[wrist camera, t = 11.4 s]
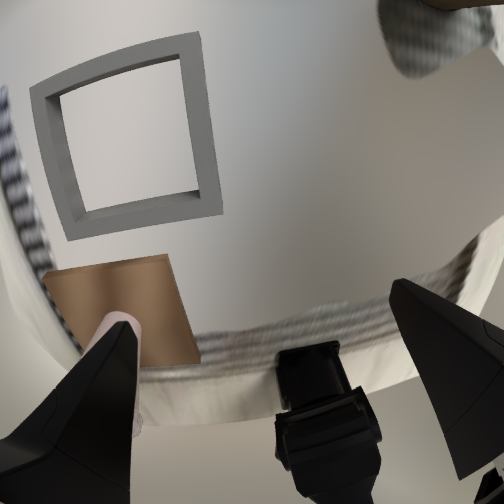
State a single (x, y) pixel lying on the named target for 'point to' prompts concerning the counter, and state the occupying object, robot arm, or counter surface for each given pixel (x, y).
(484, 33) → the counter surface
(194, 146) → the frame
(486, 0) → the pillar candle
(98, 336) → the smoothie
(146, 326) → the walnut coaster
